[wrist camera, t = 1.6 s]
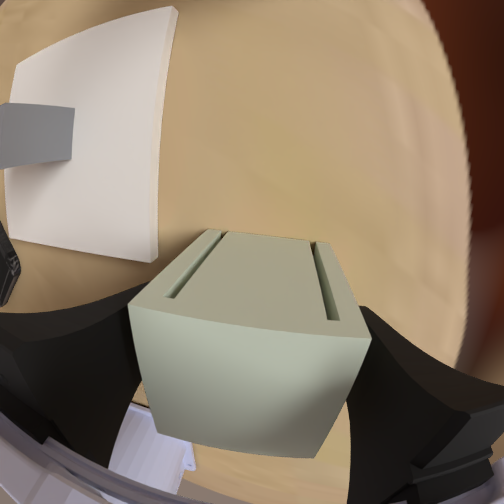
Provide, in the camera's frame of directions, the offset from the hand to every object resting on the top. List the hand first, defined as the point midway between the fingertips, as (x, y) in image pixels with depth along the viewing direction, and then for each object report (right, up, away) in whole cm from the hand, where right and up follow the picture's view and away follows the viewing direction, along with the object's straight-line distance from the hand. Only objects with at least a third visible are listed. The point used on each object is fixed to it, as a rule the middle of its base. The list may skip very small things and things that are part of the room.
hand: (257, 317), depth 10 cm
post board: (-10, +9, +1) cm, 13 cm away
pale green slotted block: (0, +1, +2) cm, 2 cm away
